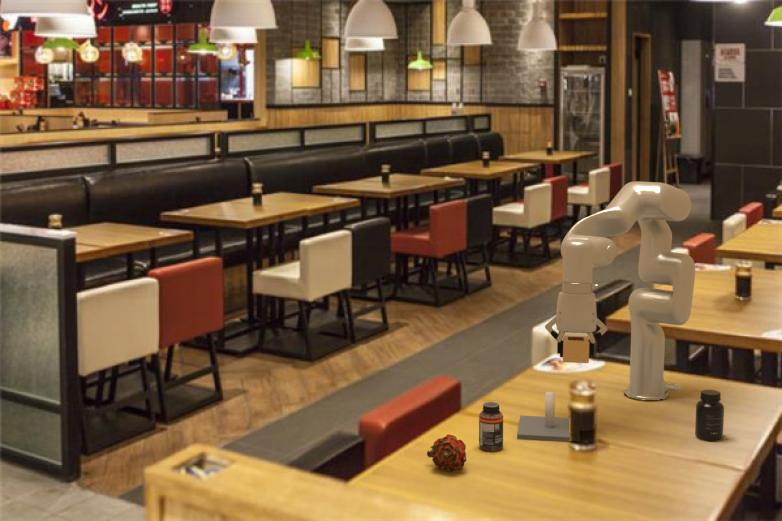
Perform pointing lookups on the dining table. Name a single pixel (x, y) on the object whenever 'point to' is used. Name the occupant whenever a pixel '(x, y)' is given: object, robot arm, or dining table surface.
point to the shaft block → (544, 424)
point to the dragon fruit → (448, 453)
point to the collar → (576, 349)
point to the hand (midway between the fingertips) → (575, 356)
